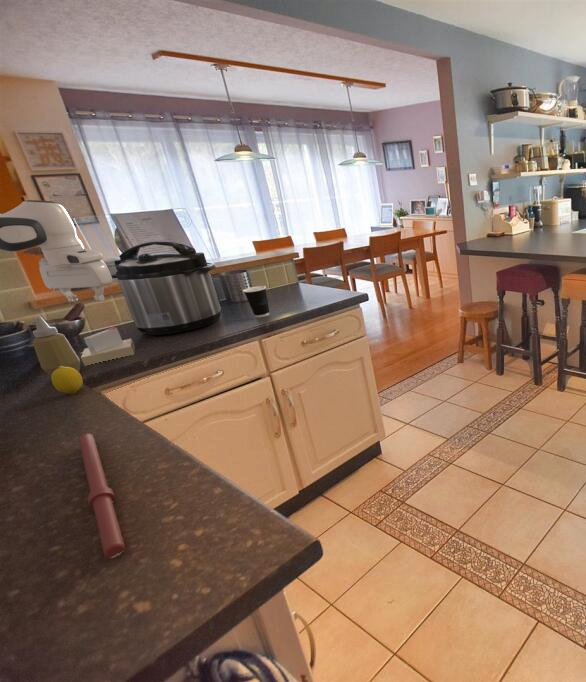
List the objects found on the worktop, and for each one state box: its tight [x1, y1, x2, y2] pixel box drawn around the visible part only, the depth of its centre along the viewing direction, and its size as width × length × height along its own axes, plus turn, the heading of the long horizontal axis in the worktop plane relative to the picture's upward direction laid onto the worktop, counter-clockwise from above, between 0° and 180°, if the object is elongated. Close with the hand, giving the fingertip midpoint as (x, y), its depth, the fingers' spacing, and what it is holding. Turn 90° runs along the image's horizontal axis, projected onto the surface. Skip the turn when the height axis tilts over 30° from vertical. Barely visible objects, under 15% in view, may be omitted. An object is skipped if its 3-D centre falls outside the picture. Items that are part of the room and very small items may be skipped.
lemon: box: [50, 366, 84, 395], centre depth 114 cm, size 6×6×8 cm
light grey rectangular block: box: [83, 327, 123, 353], centre depth 139 cm, size 9×2×5 cm, turn 173°
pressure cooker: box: [111, 241, 222, 336], centre depth 162 cm, size 30×28×32 cm
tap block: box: [79, 338, 136, 367], centre depth 140 cm, size 13×13×3 cm
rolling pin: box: [78, 433, 126, 559], centre depth 76 cm, size 45×3×3 cm, turn 47°
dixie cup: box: [242, 285, 270, 319], centre depth 170 cm, size 8×8×11 cm
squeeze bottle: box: [32, 316, 81, 377], centre depth 125 cm, size 8×8×18 cm
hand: (87, 301), depth 134 cm, fingers open, 8 cm apart
